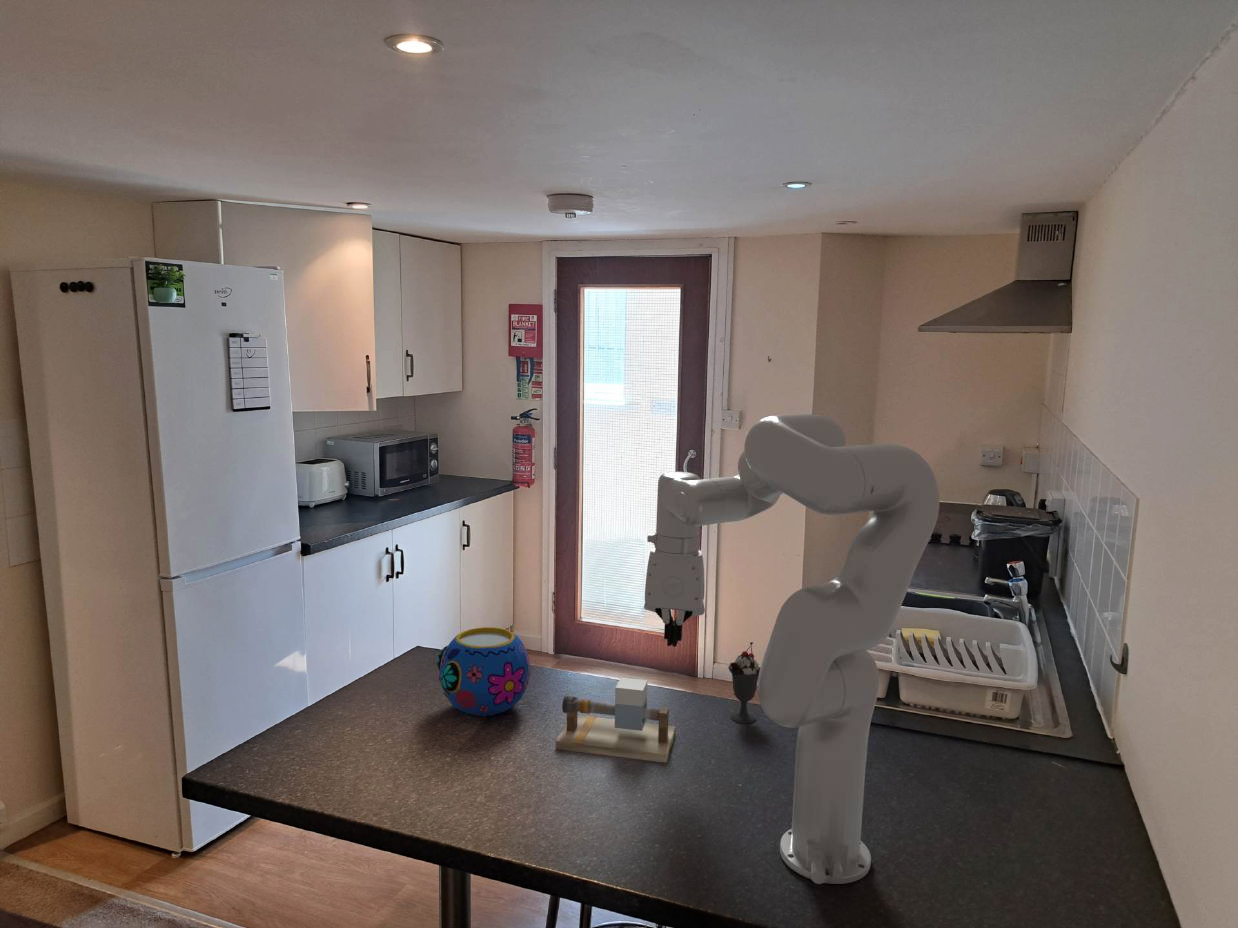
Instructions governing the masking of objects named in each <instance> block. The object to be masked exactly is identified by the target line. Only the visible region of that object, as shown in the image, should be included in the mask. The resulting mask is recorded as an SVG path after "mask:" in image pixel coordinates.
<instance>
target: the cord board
mask: <svg viewBox="0 0 1238 928" xmlns="http://www.w3.org/2000/svg"><path fill="white" fill-rule="evenodd" d="M561 705H562V706H561V709H562V713H563V714H566V724H565V725H564V727H563V728H562V730H561V732H560V734H559V735H558V736H557V739H556V740H555V749H556V750H562V751H570V752H578V753H579V752H580V753H586V754H593V755H604V756H610V757H618V758H625V759H626V758H627V759H634V760H642V761H648V762H649V761H651V762H658V763H666V764H667V762H668V759H669V755H670V751H671V749H672V746H673V743H674V740H675V739H674V738H675V736H676V725H669V710H670V709H669V707H666V706H665V707H664V706H660V708H654V707H653V708H652V707H647V708H645V707H644V708H643V719H646V720H649V721H658V724H657V723H648V722H645V725H644V727H643V730H642V731H638V730H629V729H621V728H615V718H607V717H606V718H605V717H598V716H592V715H591V716H590V715H589V714H597V715H606V716H614V717H615V703H606V702H598V701H592V700H591V699H583V698H582V699H579V698H578V697H577V696H572V695H571V696H569V695H565V696H564V697H563V700H562V704H561ZM578 712H579V713H580V714H587V715H579V713H578Z"/></svg>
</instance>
